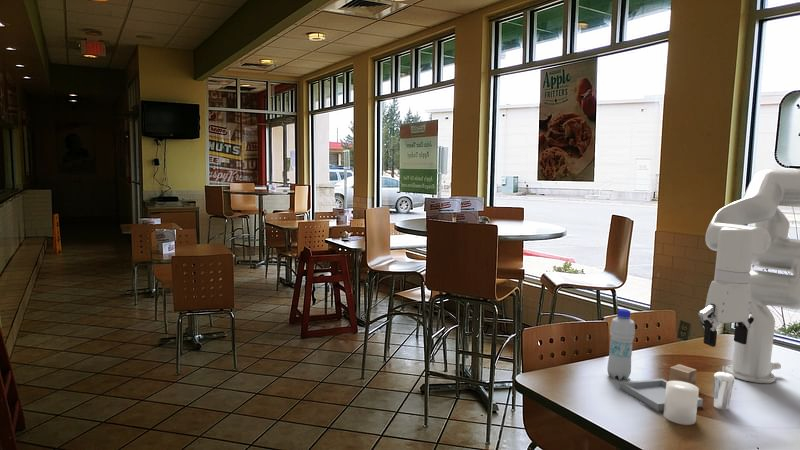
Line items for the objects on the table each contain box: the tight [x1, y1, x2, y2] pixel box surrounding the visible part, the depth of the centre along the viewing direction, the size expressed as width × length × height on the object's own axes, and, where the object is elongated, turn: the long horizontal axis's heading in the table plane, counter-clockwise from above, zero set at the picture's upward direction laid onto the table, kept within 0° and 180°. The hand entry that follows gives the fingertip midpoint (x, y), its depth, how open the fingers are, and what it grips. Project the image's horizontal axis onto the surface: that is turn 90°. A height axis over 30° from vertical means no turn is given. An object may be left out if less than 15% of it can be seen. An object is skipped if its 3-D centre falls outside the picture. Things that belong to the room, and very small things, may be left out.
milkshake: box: [713, 365, 736, 411], centre depth 142 cm, size 4×5×10 cm
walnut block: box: [668, 363, 698, 386], centre depth 156 cm, size 5×5×5 cm
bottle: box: [606, 308, 636, 381], centre depth 160 cm, size 7×7×20 cm
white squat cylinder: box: [663, 380, 700, 426], centre depth 135 cm, size 7×7×8 cm
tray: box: [619, 378, 704, 413], centre depth 147 cm, size 14×14×2 cm
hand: (724, 343), depth 140 cm, fingers open, 9 cm apart
